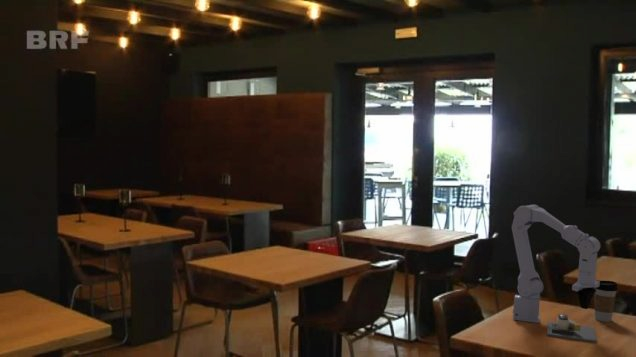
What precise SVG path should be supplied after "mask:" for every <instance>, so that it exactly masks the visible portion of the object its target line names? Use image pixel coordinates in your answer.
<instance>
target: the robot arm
mask: <svg viewBox="0 0 636 357" xmlns="http://www.w3.org/2000/svg"><path fill="white" fill-rule="evenodd" d="M535 223H543V224H545V225H546V226H548V227H550V228H552V229H554V230H556V231H557V232H558V233H560V235H561V238H562V239H563V240H565V241H566V242H568V243H569V244H571V245H572V246H574V247H576V248H577V251H578V252H579V259H578V261H579V262H578V271H577V272H578V273H577V281H576V282H575V283H574V284H572V285H571V291H574V292H576V295H577V296H578V299H579V300H578V301H579V305H580V309H585V310H588V309H589V307H590V305H591V302H592V299H593V298H594V294H595V293H596V289H595V288H596V287H599V286H600V281H601V280H596V276H597V262H598V252H599V251H600V249H601V242H600V241H599V240H598V238H597V237H595V236H590V235H589V233H585V232H583V231H582V230H580V229H578V226H577V225H576V224H575V225H572V224H569V225H566V224H565V223H563V222H562V221H561V220H559V219H558V218H556V217H555V216H554V215H552V214H551V213H549V212H548V211H547V210H546V209H545V208H543V207H540V206H539V205H537V204H529V205H520V206H518V207H517V208H516V209H515V211H513V220H512V223H511V231H512V237H513V241H514V247H515V254H516V257H517V262H518V267H519V271H520V272H519V275H518V277H517V287H516V288H517V292H518V294H515V295H514V300H513V309H512V314H513V315H512V316H513V317H512V320H514V321H520V322H530V323H536V324H539V323H540V320H541V317H540V315H539V314H540V300H541V293H542V292H543V291H544V288H545V287H544V283H543V281H542V280H541V278H540V275H539V272H537V271H536V269H535V268H536V267H535V264H534V259H533V254H532V249H531V244H530V239H529V238H530V237H529V234H528V229H529V228H530V227H531V226H532V224H535Z"/></svg>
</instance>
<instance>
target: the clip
mask: <svg viewBox="0 0 636 357" xmlns="http://www.w3.org/2000/svg"><path fill="white" fill-rule="evenodd" d="M558 316H566V317H568V314H564V313H558V314H557V317H558ZM568 319H569V328H571V329H572V330H574V331H580V328H581V326H582V325H581V324H580V323H578V322H576V321H574V320H572V319H571V318H569V317H568Z"/></svg>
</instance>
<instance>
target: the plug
mask: <svg viewBox="0 0 636 357" xmlns="http://www.w3.org/2000/svg"><path fill="white" fill-rule="evenodd" d="M568 318H569V317H568V316H567V317H566V316H558V315H557V318H556V323H557V326H555V329H561V330H568V331H570V328H569V319H570V318H569V319H568Z"/></svg>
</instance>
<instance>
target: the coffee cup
mask: <svg viewBox="0 0 636 357" xmlns="http://www.w3.org/2000/svg"><path fill="white" fill-rule="evenodd" d="M599 281H600V286H599V287H596V288H594V289H596V293H595V294H594V295H593V300H594V304H593V305H594V306H593V307H594V319H595V320H596V321H599V322H603V323H604V322H605V323H609V322H612V319H613V312H614V308H615V302H616V297H617V295H616V294H617V291H618V284H617V283H618V282H616V281H613V280H599Z"/></svg>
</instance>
